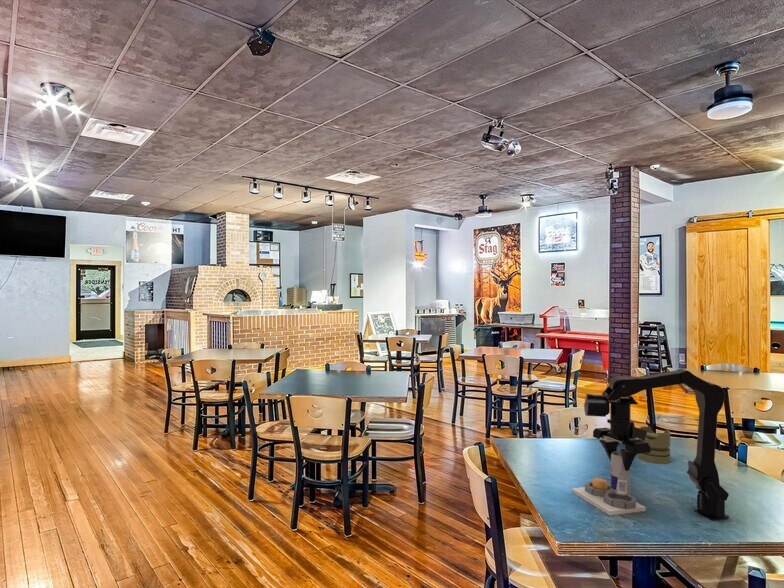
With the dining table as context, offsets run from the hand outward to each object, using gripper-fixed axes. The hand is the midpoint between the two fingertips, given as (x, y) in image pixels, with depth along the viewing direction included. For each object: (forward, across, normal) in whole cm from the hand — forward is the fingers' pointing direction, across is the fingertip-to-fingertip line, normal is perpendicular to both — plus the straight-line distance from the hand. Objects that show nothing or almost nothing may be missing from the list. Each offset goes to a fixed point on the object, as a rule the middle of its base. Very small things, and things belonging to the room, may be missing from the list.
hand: (620, 467), depth 148 cm
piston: (+13, +35, -47) cm, 60 cm away
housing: (+12, +4, +1) cm, 13 cm away
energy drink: (+8, 0, 0) cm, 8 cm away
